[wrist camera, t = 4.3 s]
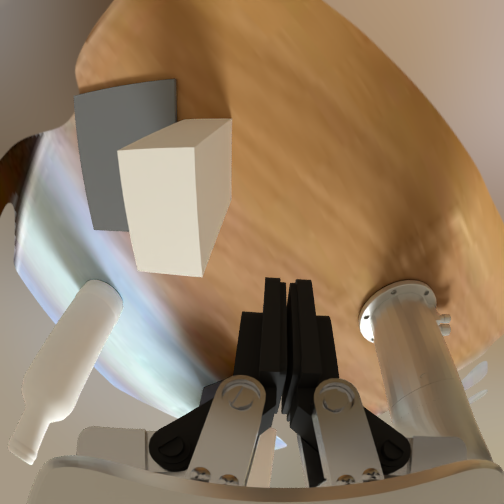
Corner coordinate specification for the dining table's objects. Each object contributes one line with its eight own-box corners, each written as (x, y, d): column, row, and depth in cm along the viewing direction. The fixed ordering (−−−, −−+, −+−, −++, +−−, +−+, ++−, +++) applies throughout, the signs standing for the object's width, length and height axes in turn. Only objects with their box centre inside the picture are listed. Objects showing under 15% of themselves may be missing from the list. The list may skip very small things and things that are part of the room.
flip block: (231, 118, 27) (194, 147, 15) (231, 199, 32) (202, 277, 20) (183, 119, 27) (116, 150, 16) (187, 197, 32) (137, 270, 20)
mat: (176, 78, 25) (174, 78, 24) (184, 232, 35) (182, 234, 34) (76, 95, 26) (73, 96, 25) (96, 227, 35) (94, 229, 35)
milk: (212, 424, 65) (196, 513, 43) (241, 415, 60) (228, 516, 38) (246, 438, 69) (236, 520, 47) (276, 429, 64) (270, 520, 42)
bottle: (125, 288, 41) (35, 468, 16) (124, 321, 45) (55, 479, 20) (82, 271, 40) (-19, 430, 15) (85, 304, 44) (6, 448, 19)
